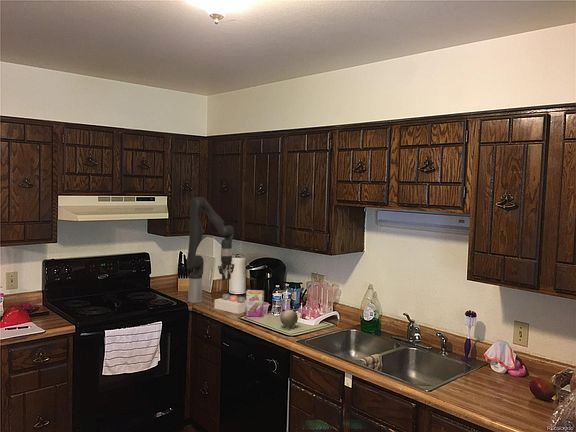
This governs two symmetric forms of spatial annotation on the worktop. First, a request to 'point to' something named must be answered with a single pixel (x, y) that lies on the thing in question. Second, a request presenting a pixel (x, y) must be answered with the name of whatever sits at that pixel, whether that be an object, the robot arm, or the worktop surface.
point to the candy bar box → (254, 303)
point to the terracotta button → (233, 298)
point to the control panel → (230, 306)
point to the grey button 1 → (226, 296)
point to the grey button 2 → (240, 299)
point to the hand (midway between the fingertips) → (226, 279)
